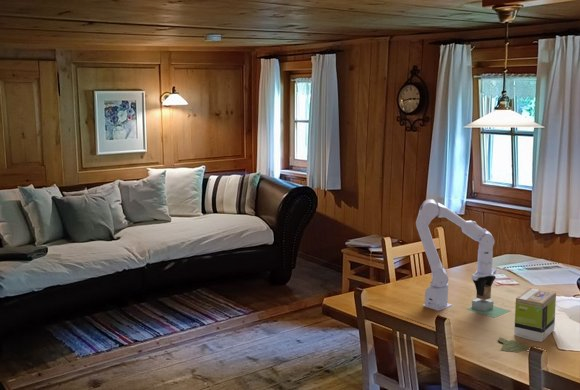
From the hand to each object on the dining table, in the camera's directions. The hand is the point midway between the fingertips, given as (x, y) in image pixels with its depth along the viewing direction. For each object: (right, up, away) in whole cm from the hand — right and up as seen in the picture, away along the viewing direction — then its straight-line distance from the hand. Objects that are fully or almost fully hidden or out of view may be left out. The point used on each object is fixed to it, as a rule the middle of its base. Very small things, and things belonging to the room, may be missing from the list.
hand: (483, 294), depth 258 cm
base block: (0, -6, +1) cm, 6 cm away
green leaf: (0, -13, -40) cm, 42 cm away
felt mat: (+2, -6, -2) cm, 7 cm away
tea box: (+11, -11, -25) cm, 30 cm away
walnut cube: (0, -2, 0) cm, 2 cm away
